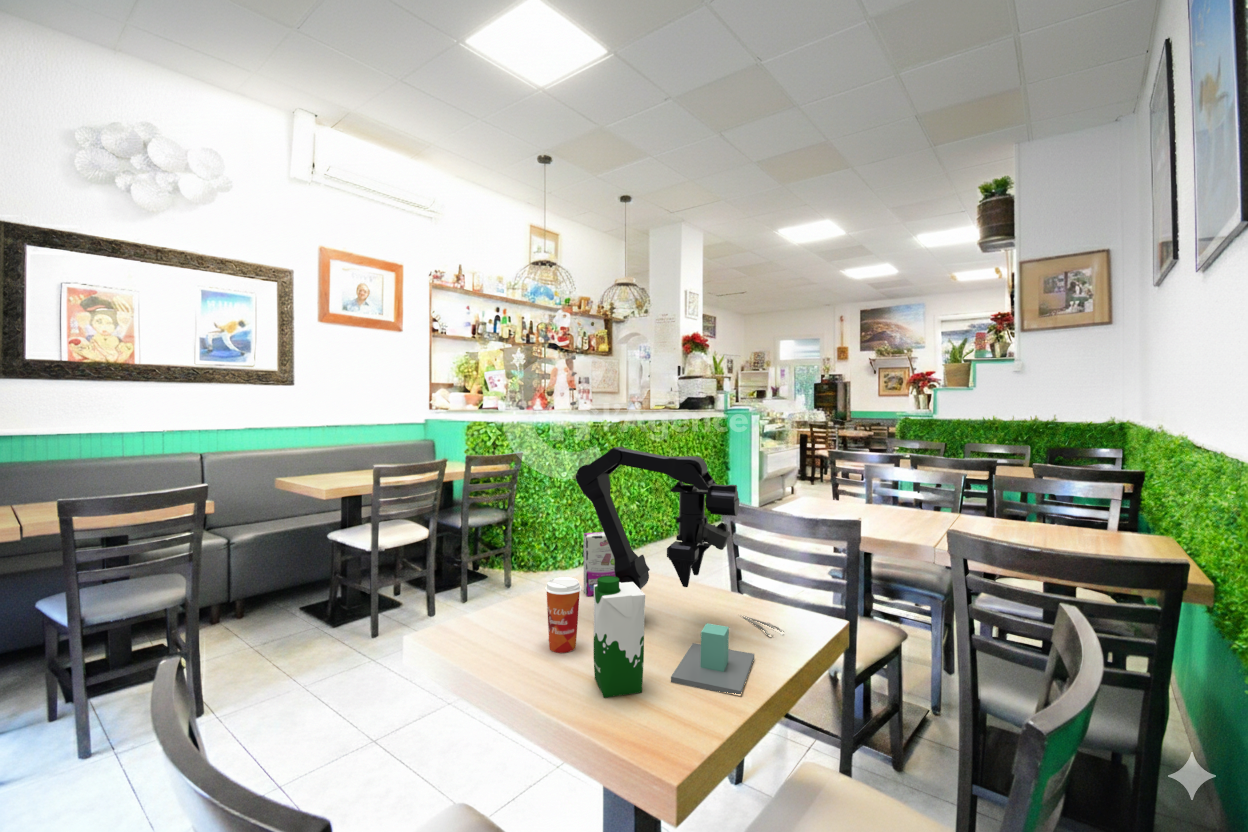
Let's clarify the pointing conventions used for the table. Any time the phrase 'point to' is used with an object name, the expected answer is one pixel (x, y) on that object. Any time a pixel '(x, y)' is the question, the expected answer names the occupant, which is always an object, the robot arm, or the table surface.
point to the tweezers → (762, 623)
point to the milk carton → (618, 636)
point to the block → (714, 647)
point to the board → (713, 671)
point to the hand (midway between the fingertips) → (690, 580)
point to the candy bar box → (596, 560)
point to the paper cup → (562, 613)
